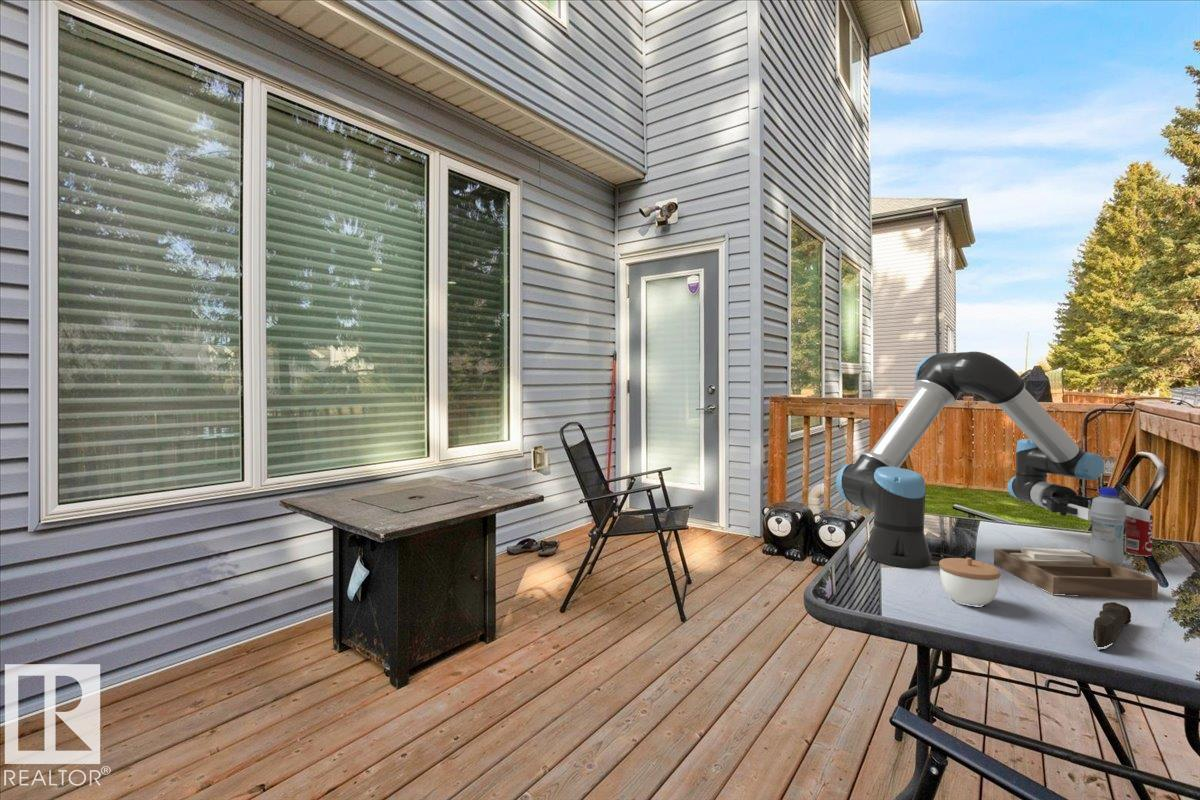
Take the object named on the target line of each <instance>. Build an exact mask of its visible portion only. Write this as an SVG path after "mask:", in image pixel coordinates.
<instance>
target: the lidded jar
mask: <svg viewBox="0 0 1200 800" xmlns="http://www.w3.org/2000/svg"><path fill="white" fill-rule="evenodd" d="M938 562H939V565H938V566H939V576H940V578H939V580H940V582H941V583H940V584H941V586H942V588H943V590H944V591H945V593H946V594H947V595H948V596H949V597H950V598H952V599H954V600H955V601H958V602H961V603H965V604H969V605H978V606H981V605H986V606H987V604H990V603H991V602H992V601H993V600H994V599H995V598H996V596H997V594H998V591H999V587H1000V577H1001V570H1000V569H999V567H998V568H997V566H996V565H995V566H994V564H993V565H992V564H990V563H987V562H984V561H980V560H975V559H973V558H971V557H965V558H962V557H946V558H941V559H940V560H939V561H938Z"/></svg>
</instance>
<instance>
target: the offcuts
mask: <svg viewBox="0 0 1200 800" xmlns="http://www.w3.org/2000/svg"><path fill="white" fill-rule="evenodd" d="M1020 549H1021V552H1022V553H1010V554H1011V555H1013V556H1015V557H1017V558H1019V559H1021V560H1023V561H1026V562H1028V563H1030V564H1037V565H1073V566H1095V565H1093V557H1092V556H1090V555H1087V554H1085V553H1083V552H1080V551H1081V550H1079V549H1069V548H1068V549H1066V548H1065V549H1064V548H1063V549H1062V548H1045V547H1044V548H1043V547H1024V546H1023V547H1022V546H1021V547H1020Z"/></svg>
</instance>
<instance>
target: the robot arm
mask: <svg viewBox="0 0 1200 800" xmlns="http://www.w3.org/2000/svg"><path fill="white" fill-rule="evenodd" d="M914 374H915V375H914V381H915V382H913V387H914V392H913V393H912V395H911V396H910V397H909V399H907V401H906V403H905V404H904V406H903V407H902V408H901V410H900V411H899V412H898V414H897V415H896V416H895V418H894V419H893V421H891V423H890V424H889V426H888V427H887V428H886V429H885V431H884V433H883V434H882V435H881V436H880V438H879V439H878V441H877V442H876V443H875V444H874V446H873V447H872V448H871V450H870V451H869V452H865V453H861V454H860V456H859V457H858V458H857V459H856V461H855V462H853V463H851V462H850V463H848V464H845V465H843V466H842V467H841V468H840V469H839V470H838V473H837V475H836V480H835V484H836V490H837V492H838V493H839V494H838V495H839V496H840V497H841V498H842V499H843V500H844V501H846V502H848V503H850V504H851V505H852V506H855V507H860V508H863V509H866V510H869V511H872V512H873V528H872V531H871V533H870V535H869V538H868V542H867V543H866V547H865V555H866V554H867V555H868V556H869V557H870V558H871V560H872V559H873V561H874V562H878V563H880V564H883V565H889V566H893V567H900V568H911V569H913V568H914V569H915V568H916V569H917V568H919V569H920V568H926V567H929V566H931V565H932V553H931V551H930V549H929V544H928V541H927V537H926V534H925V516H926V515H925V513H926V509H925V508H926V492H927V491H926V490H927V489H926V483H925V479H924V478H925V477H923V476H922V474H920V473H918V472H916V471H914V470H910V469H907V468H901V467H902V464H904V462H905V461H906V459H907V457H908V456H909V455H910V454H911V452H912V451H913V450H914V448H915V447H916V446H917V444H918V443H919V441H920V440H921V439H922V437H924V435H925V433H926V432H927V430H928V429H929V428H930V426H931V425H932V423H933V422H934V421H935V420H936V418H937V416H938V415H939V414H940V413H941V411H942V410H943V408H944V407H947V406H953V404H955V402H956V401H957V400H958V399H959V397H960V395H962V394H974V395H978V396H981V397H983V398H984V399H985V400H987V402H988V403H989V404H991V405H996V406H997V407H999V408H1000V410H1002V412H1003V413H1004V414H1005V415H1006V416H1007V417H1008V418H1009V419H1010V420H1011V421H1012V422H1013V423H1014V424H1015V425H1016V426H1017V427H1018V428H1019V430H1021V431H1022V433H1023V434H1025V435H1026V436H1027V438H1022V439H1019V440H1017V443H1016V450H1015V475H1014V476H1013V477H1011V478H1010V479H1009V481H1008V482H1007V487H1006V488H1007V491H1008V493H1009V495H1010V496H1011V497H1013V498H1015V499H1017V500H1019V501H1021V502H1024V503H1028V504H1032V505H1035V506H1037V507H1038V506H1039V507H1042V508H1044V510H1045V511H1048V510H1049V511H1050V512H1052V513H1054V514H1056V513H1059V515H1060V516H1063V517H1067V515H1070V516H1073V517H1077V518H1080V519H1083V520H1086V521H1092V517H1091V505H1092V500H1093V498H1096V497H1095V496H1091V497H1088V496H1084V495H1080V494H1077V492H1076V491H1075V490H1074V489H1072V488H1071V487H1069V486H1065V485H1061V484H1057V483H1053V482H1049V481H1048V480H1047V479H1048V474H1050V475H1051V474H1052V475H1056V476H1062V477H1068V478H1073V479H1077V480H1088V481H1092V480H1096V479H1098V478H1100V477H1101V476H1102V474H1103V473H1104V470H1105V461H1104V459H1103V458H1102V457H1101V455H1100V454H1097V453H1093V452H1091V451H1087V452H1086V451H1084V450H1083V449H1082V448H1081V447H1080V445H1078V444H1077V442H1076V441H1074V440H1073V438H1072V437H1071V436H1070V435H1069V434H1068V433H1067V432H1066V431H1065V430H1064V428H1063V427H1062V426H1061V425H1060V424H1059V423H1058V422H1057V421H1056V420H1055V419H1054V418H1053V417H1052V416H1051V415H1050V414H1049V412H1047V410H1046V409H1045V408H1044V407H1043V406H1042V405H1041V404H1040V403H1039V402H1038V400H1036V398H1034V397H1033V395H1032V394H1031V393H1030V392H1029V391H1028V390H1027V389H1026V381H1024V379H1023V378H1022V377H1021V376H1020V375H1019V374H1018V373H1017V372H1016V371H1015V370H1014V369H1012V367H1010V366H1008V364H1006V363H1005V362H1004V361H1002V360H1000V359H998V358H997V357H995V356H993V355H991V354H988V353H986V352H982V351H981V352H980V351H966V352H963V351H962V352H949V353H946V352H940V353H936V354H930V355H928V356H926V357H924V358H923V359H922V360H920V362H919V363H918V364H917V366H916V368H915V371H914ZM1124 503H1125V510H1126V516H1129V517H1132V518H1136V519H1139V520H1143V521H1147V522H1150V512H1151V510H1148V509H1144V508H1141V507H1137V506H1136V504H1134V503H1131V501H1126V502H1124ZM867 555H866V556H867ZM868 556H867V557H868ZM869 557H868V558H869ZM870 558H869V559H870Z"/></svg>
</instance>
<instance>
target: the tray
mask: <svg viewBox="0 0 1200 800" xmlns="http://www.w3.org/2000/svg"><path fill="white" fill-rule="evenodd" d="M1079 551H1080V552H1083V553H1085V554H1087V555H1090V556H1092V557H1093V565H1095V566H1073V565H1037V564H1030V563H1028V562H1026V561H1023V560H1021V559H1019V558H1017V557H1015V556H1013V555H1011V554H1010V553H1022V552H1021V548H1020V549H1019V548H1018V549H1017V548H1016V549H1015V548H1014V549H1013V548H1011V549H1009V548H994V549H993V566H994V565H995V567H998V568H1000V569H1002V570H1003V571H1006V572H1008V573H1010V574H1012V575H1014V576H1015V577H1017V578H1019V579H1021V580H1022V581H1025V582H1027V583H1029V584H1030V583H1031V584H1030V585H1032V584H1034V585H1036V586H1038V587H1040V588H1042V589H1044V590H1046V591H1048V592H1050V593H1052V594H1065V595H1078V596H1077V597H1089V598H1090V596H1091V597H1094V598H1096V597H1097V598H1098V597H1099V598H1124V599H1126V598H1128V599H1130V598H1131V599H1158V597H1159V594H1158V593H1159V580H1158V579H1156V578H1153V577H1152V576H1151V577H1150V576H1148V575H1145V574H1142V573H1141V572H1138V571H1135V570H1132V569H1130V568H1128V567H1124V566H1122V565H1121V566H1120V565H1117V564H1115V563H1112V562H1110V561H1107V560H1104V559H1102V558H1099V557H1097V556H1094V555H1092V554H1090V552H1089V553H1088V552H1087V551H1083V550H1079ZM1034 585H1033V586H1034ZM1036 586H1035V587H1036ZM1038 587H1037V588H1038ZM1040 588H1039V589H1040ZM1042 589H1041V590H1042ZM1044 590H1043V591H1044ZM1046 591H1045V592H1046ZM1048 592H1047V593H1048Z"/></svg>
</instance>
